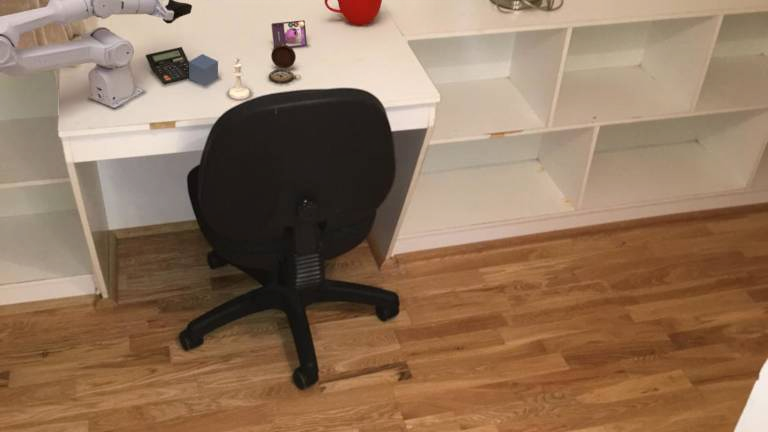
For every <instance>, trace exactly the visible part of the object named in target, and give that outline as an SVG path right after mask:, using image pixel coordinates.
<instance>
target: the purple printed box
mask: <svg viewBox="0 0 768 432" xmlns="http://www.w3.org/2000/svg"><path fill="white" fill-rule="evenodd" d="M286 24H287V27H288V28H289V29H286V31H285V25H286ZM270 25H271V34H272V44H273V49H274V48H275V47H276V46H278V45H283V44H284V45H287V44H286V41H287V42H294V41H295V40H297V38H299V35H300V37H301V41H300V44H296V45H295V44H294V45H289V46H290V47H291V48H300V47H307V46H308V41H307V40H308V39H307V30H306V21H305V20H304V19H303V20H294V21H282V22H272V23H271V24H270ZM298 27H299V28H298ZM298 31H300V33H299V32H298Z"/></svg>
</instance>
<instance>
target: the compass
mask: <svg viewBox="0 0 768 432" xmlns="http://www.w3.org/2000/svg"><path fill="white" fill-rule="evenodd" d="M290 46H291V45H287V44H286V45H284V44H283V45H278V46H276V47H275V48H274V47H273V49H272V51H271V53H270V56H271V57H270V58H271V62H272V63H273V64H274V66H276V67H277V68H276V69H274V70H272V71H270V72H269V74H268V79H269V80H270V81H271V82H272V83H274V84H278V85H279V84H281V85H284V84H288V83H291V82H292V81H293V80H294V79H296V80H297V79H298V80H299V79H301V78H302V76H301V75H300V74H298V76H299V77H297V74H294V73H293V71H290V70H289V68H291V67H292V66H293V65H294V64H295V62H296V59H297V57H296V56H297V55H296V52H295V50H294V49H293V47H290Z"/></svg>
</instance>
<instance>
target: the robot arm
mask: <svg viewBox="0 0 768 432" xmlns="http://www.w3.org/2000/svg"><path fill="white" fill-rule="evenodd" d="M192 9H193V5H192V4H190V3H187V2H180V1H177V0H168V2H167V4H164V2H163V0H49V1H48V3H47V4H46V6H43V7H39V8H34V9H29V10H25V11H21V12H15V13H11V14H6V15H1V16H0V73H2V74H4V75H7V76H9V77H12V78H16V77H21V76H27V75H31V74H37V73H43V72H48V71H53V70H57V69H63V68H68V67H74V66H80V65H85V64H95V66H94V67H93V68H92V69H91V70H90V71H89V72H88V81H89V87H90V92H91V95H90V96H89V97H90V99H91V100H93V101H96V102H98V103H100V104H103V105H105V106H108V107H109V108H112V109H117V108H118V107H119V106H121V105H123V104H125V103H127V102H129V101H130V100H132V99H134V98H136V97H137V96H139V95H140V94H142V93H143V92H144V90H143V89H141V88H139V87H137V86H135V84H134V79H133V72H132V66H131V61H132V59H133V57H134V54H135V49H134V46H133V43H131V42H130V41H129V40H128V39H124V38H122V37H121V36H119V35H117V34H116V33H114V32H113V31H111V29H109V28H107V27H105V26H99V27H96V28H94V29H93V30H92V31H90V32H87V33H83V34H82V35H81V38H79V39H72V40H67V41H60V42H55V43H49V44H48V43H47V44H43V45H37V46H30V47H25V48H18V46H19V42H20V39H21V38H20V37H21V35H24V34H27V33H29V32H33V31H35V30H37V29H39V28H42V27H45V26H49V25H51V24H56V25H58V26H60V27H63V26H67V25H70V24H73V23H78V22H81V21H83V20H87V19H91V18H92V17H95V18H99V19H101V20H106V19H108V18H110V17H111V16H112V15H119V16H120V15H124V16H125V15H148V16H152V17H156V18H161V19H162V21H163V22H164V23H166V24H172V23H173V22H176V20H177V19H179V18H181V17H185V16H188V15H190V14H191V13H192ZM14 48H15V49H14ZM17 48H18V49H17Z"/></svg>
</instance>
